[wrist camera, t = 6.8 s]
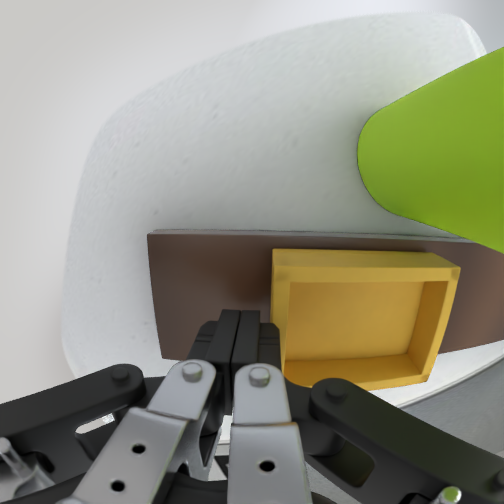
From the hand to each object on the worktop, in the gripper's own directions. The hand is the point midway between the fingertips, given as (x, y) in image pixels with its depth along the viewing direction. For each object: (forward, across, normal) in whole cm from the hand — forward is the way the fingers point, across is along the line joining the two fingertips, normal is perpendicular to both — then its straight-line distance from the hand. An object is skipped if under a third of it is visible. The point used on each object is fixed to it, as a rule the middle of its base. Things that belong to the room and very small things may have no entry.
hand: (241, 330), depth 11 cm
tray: (+2, -5, 0) cm, 6 cm away
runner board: (+4, -11, 0) cm, 11 cm away
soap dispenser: (+4, -9, -8) cm, 12 cm away
